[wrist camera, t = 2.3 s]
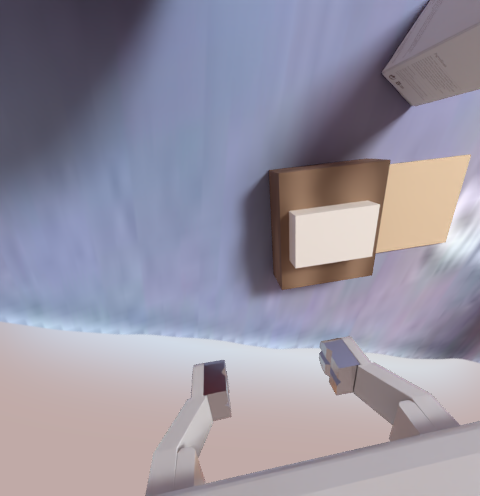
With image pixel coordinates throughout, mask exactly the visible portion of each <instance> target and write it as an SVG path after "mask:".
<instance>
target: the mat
mask: <svg viewBox="0 0 480 496" xmlns="http://www.w3.org/2000/svg"><path fill="white" fill-rule="evenodd" d="M470 157H471V155H462V156H454V157H446V158H438V159H429V160H421V161H413V162H405V163H397V164H390V166H389V173H388V179H387V185H386V191H385V198H384V204H383V210H382V216H381V223H380V229H379V235H378V241H377V248H376V253H379V252H386V251H392V250H399V249H405V248H411V247H418V246H424V245H431V244H437V243H443V242H446V239H447V235H448V232H449V228H450V225H451V221H452V218H453V215H454V211H455V208H456V204H457V201H458V198H459V194H460V191H461V187H462V184H463V181H464V177H465V174H466V170H467V167H468V163H469V160H470Z"/></svg>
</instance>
